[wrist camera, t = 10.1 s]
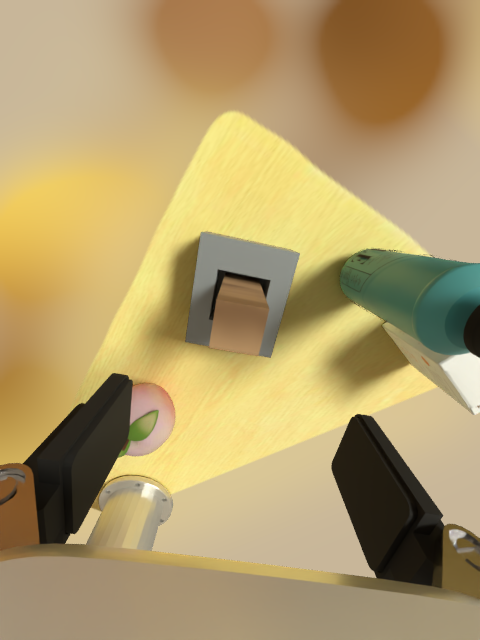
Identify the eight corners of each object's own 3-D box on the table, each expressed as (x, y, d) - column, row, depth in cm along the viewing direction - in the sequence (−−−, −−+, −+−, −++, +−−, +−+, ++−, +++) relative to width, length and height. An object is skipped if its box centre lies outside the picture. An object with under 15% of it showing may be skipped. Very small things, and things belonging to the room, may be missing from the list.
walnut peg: (251, 310, 31) (258, 356, 20) (220, 304, 31) (208, 347, 20) (258, 278, 30) (269, 309, 19) (225, 272, 30) (216, 299, 18)
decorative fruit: (160, 428, 39) (134, 491, 30) (114, 400, 37) (71, 458, 28) (196, 389, 37) (180, 445, 27) (148, 357, 35) (114, 404, 25)
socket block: (266, 339, 34) (270, 357, 29) (193, 325, 33) (185, 341, 28) (290, 249, 30) (299, 253, 25) (207, 231, 29) (201, 232, 24)
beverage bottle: (352, 309, 32) (509, 421, 13) (321, 272, 31) (449, 341, 12) (396, 274, 31) (643, 346, 12) (366, 233, 29) (594, 241, 10)
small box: (446, 340, 34) (532, 386, 24) (409, 364, 35) (475, 417, 25) (418, 297, 32) (499, 328, 22) (379, 324, 33) (439, 365, 23)
